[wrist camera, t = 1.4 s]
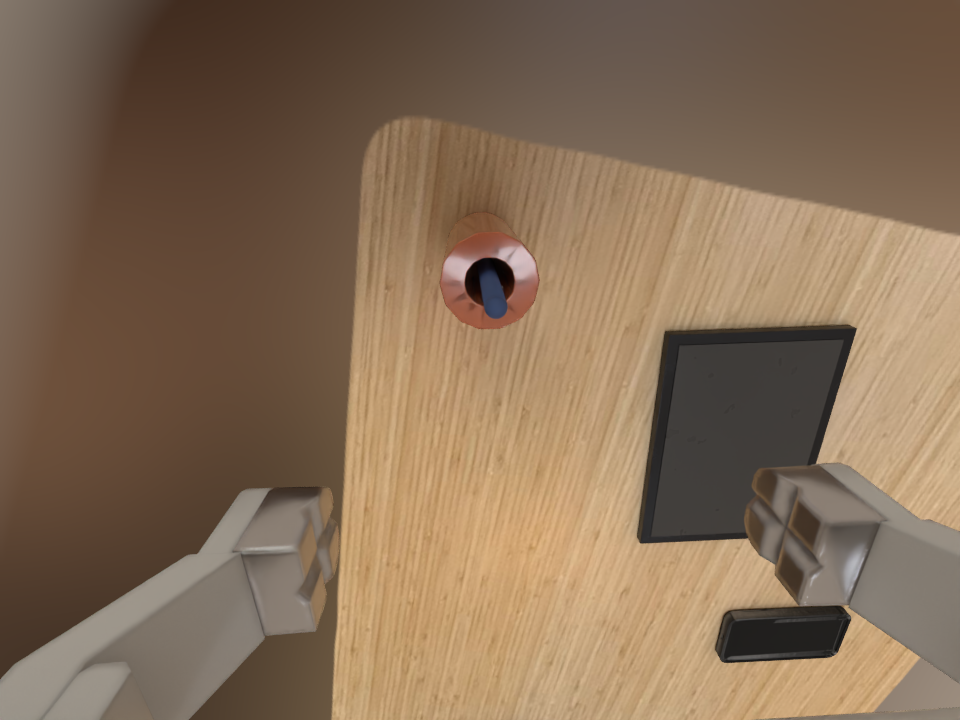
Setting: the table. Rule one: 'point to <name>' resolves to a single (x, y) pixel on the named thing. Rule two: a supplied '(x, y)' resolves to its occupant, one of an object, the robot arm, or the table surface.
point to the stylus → (491, 289)
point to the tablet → (734, 422)
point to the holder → (511, 262)
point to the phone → (782, 634)
